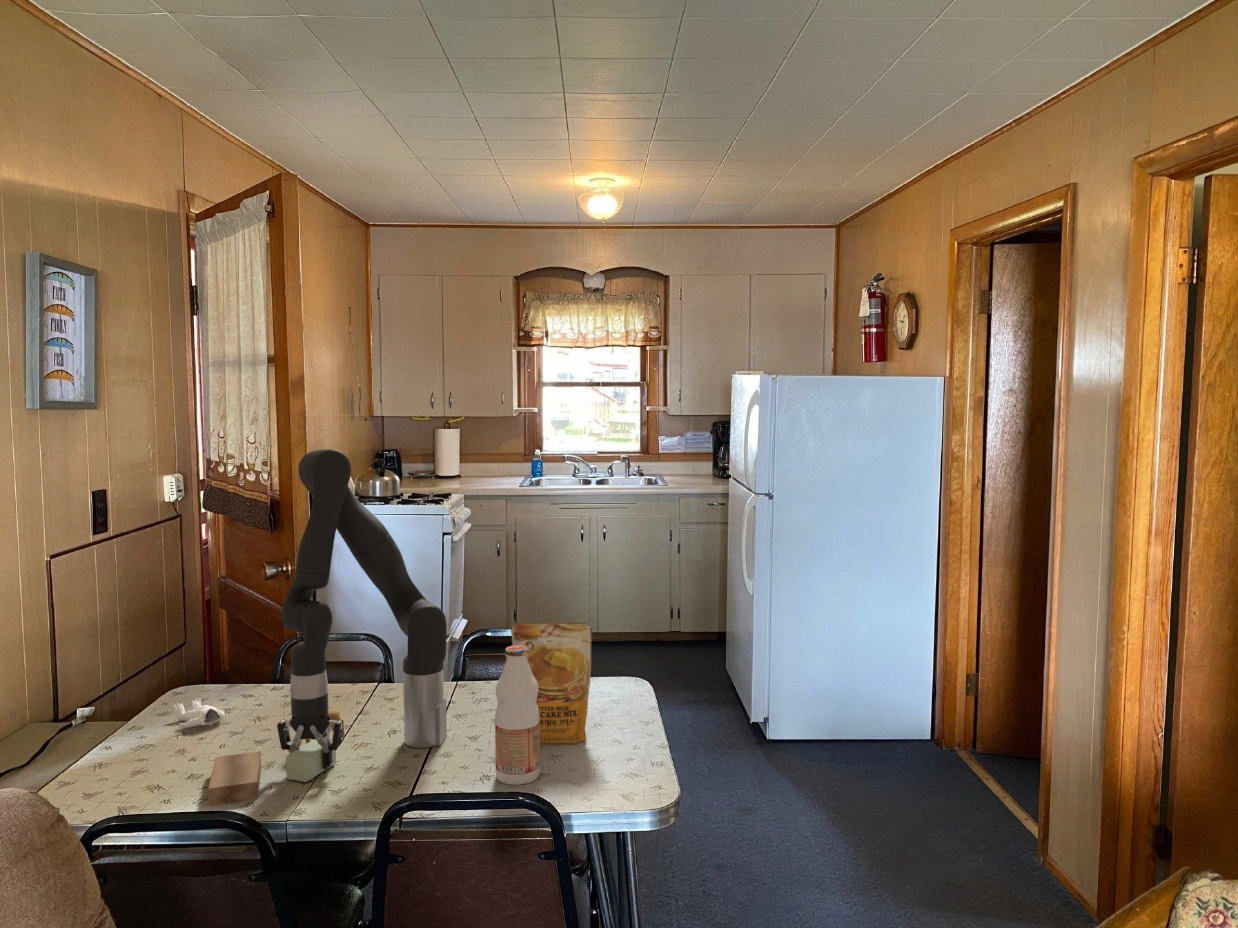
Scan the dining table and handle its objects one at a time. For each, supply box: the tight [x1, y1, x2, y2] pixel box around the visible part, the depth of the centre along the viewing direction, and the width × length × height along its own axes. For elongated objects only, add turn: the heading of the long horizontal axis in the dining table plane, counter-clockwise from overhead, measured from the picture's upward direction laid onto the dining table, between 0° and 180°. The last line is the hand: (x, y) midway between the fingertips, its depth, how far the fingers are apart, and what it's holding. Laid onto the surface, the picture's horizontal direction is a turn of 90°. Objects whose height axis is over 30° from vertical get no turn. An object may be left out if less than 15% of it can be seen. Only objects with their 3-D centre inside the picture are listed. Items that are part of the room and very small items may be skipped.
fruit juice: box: [494, 645, 541, 786], centre depth 184 cm, size 9×9×28 cm
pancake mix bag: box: [510, 621, 593, 746], centre depth 203 cm, size 7×19×28 cm, turn 91°
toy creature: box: [172, 697, 226, 731], centre depth 215 cm, size 12×6×12 cm
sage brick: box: [285, 739, 337, 783], centre depth 186 cm, size 5×10×5 cm, turn 162°
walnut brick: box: [207, 751, 262, 807], centre depth 180 cm, size 9×16×4 cm, turn 20°
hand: (311, 767), depth 186 cm, fingers closed on sage brick, 6 cm apart
